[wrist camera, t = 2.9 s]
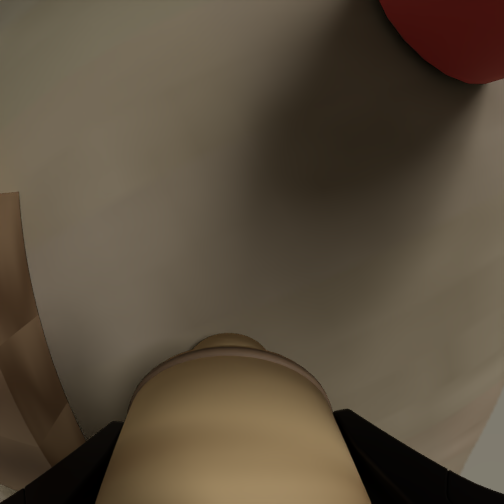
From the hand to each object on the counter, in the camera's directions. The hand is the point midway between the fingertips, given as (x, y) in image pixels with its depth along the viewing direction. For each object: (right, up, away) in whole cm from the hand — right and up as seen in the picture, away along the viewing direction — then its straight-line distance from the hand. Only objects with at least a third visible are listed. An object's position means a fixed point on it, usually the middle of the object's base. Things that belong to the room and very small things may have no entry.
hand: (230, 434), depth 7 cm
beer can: (+8, +14, +1) cm, 16 cm away
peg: (0, +1, +3) cm, 3 cm away
